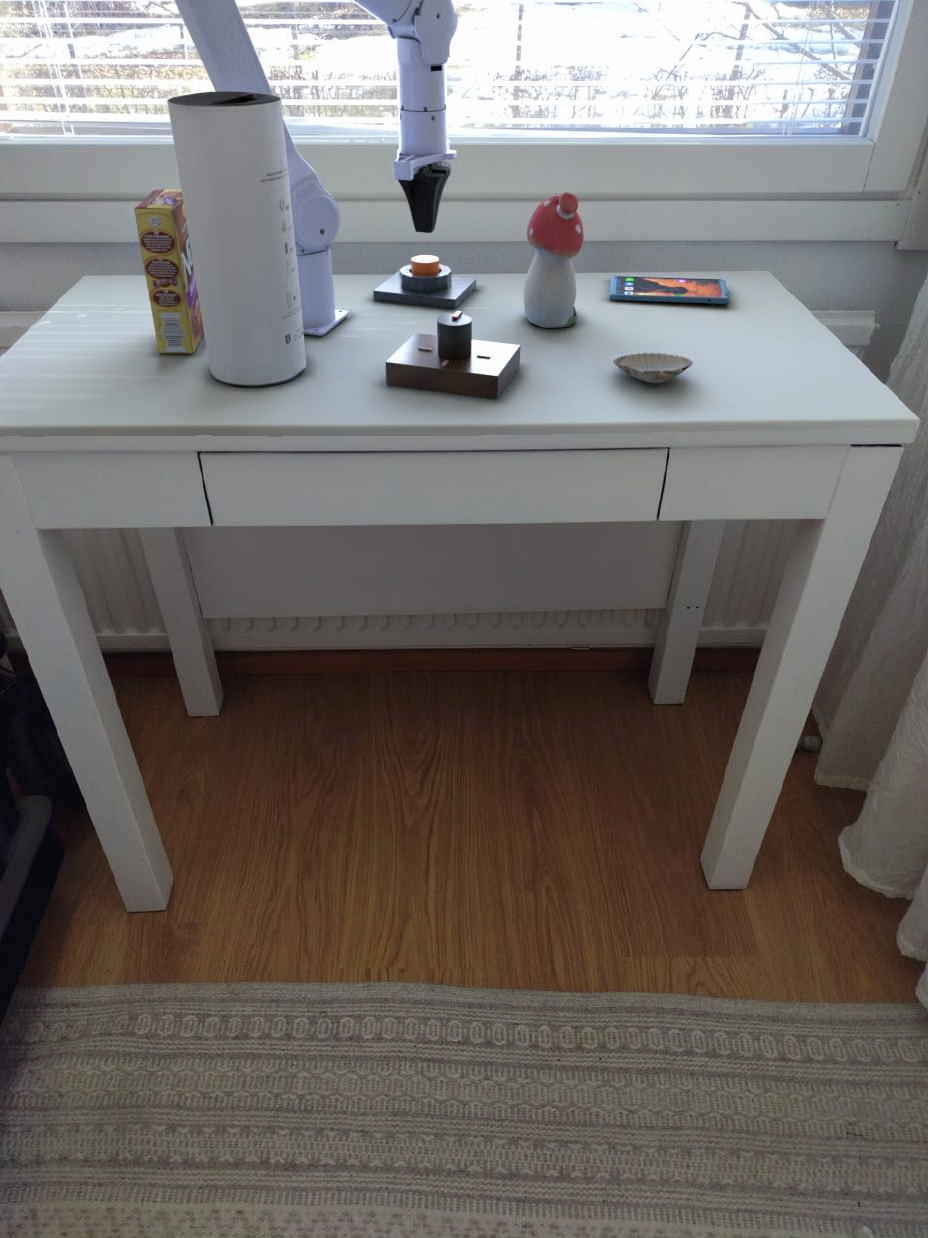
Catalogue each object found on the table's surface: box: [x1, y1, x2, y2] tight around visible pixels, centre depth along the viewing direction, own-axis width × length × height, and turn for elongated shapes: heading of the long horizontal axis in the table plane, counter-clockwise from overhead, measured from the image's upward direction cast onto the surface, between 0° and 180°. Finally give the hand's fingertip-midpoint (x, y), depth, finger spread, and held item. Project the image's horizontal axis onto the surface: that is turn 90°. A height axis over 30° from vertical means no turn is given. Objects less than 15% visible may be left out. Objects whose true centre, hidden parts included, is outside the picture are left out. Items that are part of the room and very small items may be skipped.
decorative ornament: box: [523, 192, 585, 329], centre depth 107 cm, size 9×6×15 cm
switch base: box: [372, 263, 477, 310], centre depth 119 cm, size 11×9×3 cm
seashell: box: [612, 352, 693, 384], centre depth 97 cm, size 8×3×8 cm
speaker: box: [166, 91, 307, 388], centre depth 91 cm, size 11×10×26 cm
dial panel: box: [384, 332, 521, 401], centre depth 97 cm, size 12×9×3 cm
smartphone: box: [608, 275, 730, 306], centre depth 120 cm, size 8×1×15 cm
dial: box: [436, 310, 473, 359], centre depth 95 cm, size 4×4×4 cm
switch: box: [410, 254, 440, 275], centre depth 117 cm, size 4×4×2 cm
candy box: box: [133, 188, 204, 355], centre depth 101 cm, size 9×4×15 cm, turn 2°
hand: (424, 231), depth 115 cm, fingers closed
